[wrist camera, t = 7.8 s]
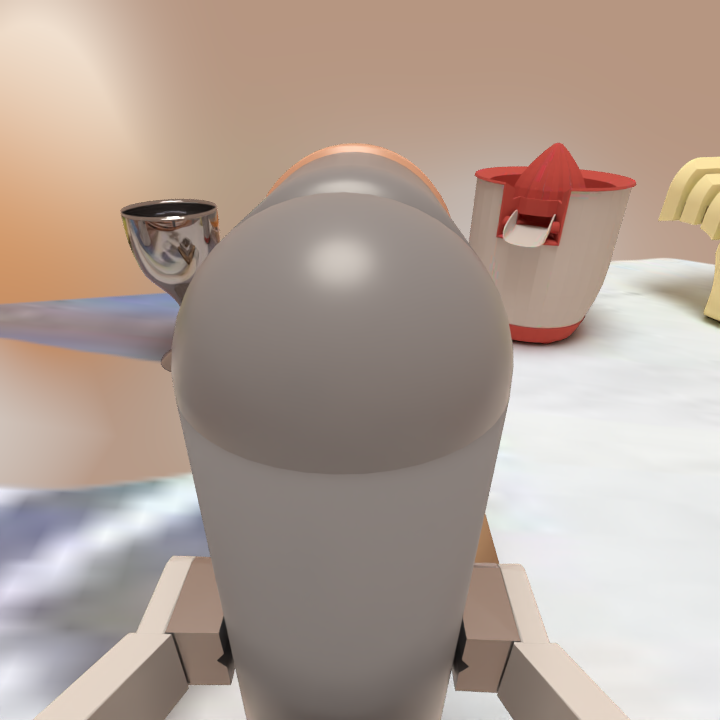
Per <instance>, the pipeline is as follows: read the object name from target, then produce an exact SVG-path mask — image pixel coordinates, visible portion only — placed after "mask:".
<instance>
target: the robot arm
mask: <svg viewBox="0 0 720 720" xmlns="http://www.w3.org/2000/svg"><path fill="white" fill-rule="evenodd" d="M234 670H235V664H234V660H233V655H232V651H231V646H230V642H229V637H228V633H227V628H226V624H225V619H224V615H223V610H222V606H221V601H220V596H219V592H218V587H217V583H216V578H215V574H214V569H213V565H212V560H211V557H197V556H172V557H171V559H170V560H169V561H168V562H167V564H166V566H165V568H164V570H163V573H162V575H161V577H160V580H159V582H158V584H157V586H156V589H155V591H154V593H153V596H152V598H151V600H150V602H149V605H148V607H147V609H146V611H145V614H144V616H143V618H142V621H141V623H140V625H139V627H138V630H137V632H136V633H128V634H127V635H126V636H125V637H124V638H123V639H122V640H120V641H119V642H118V643H117V644H116V645H115V646H114V647H113V648H112V649H110V650H109V651H108V652H107V653H106V654H105V655H104V656H103V657H102V658H100V659H99V660H98V661H97V662H96V663H95V664H94V665H93V666H92V667H90V668H89V669H88V670H87V671H86V672H85V673H84V674H83V675H82V676H80V677H79V678H78V679H77V680H76V681H75V682H74V683H73V684H72V685H71V686H69V687H68V688H67V689H66V690H65V691H64V692H63V693H62V694H61V695H59V696H58V697H57V698H56V699H55V700H54V701H53V702H52V703H51V704H49V705H48V706H47V707H46V708H45V709H44V710H43V711H42V712H41V713H39V714H38V715H37V716H36V717H35V718H34V719H33V720H164V719H165V718H166V717H167V716H168V714H169V713H170V712H171V710H172V709H173V708H174V707H175V705H176V704H177V703H178V702H179V700H180V699H181V698H182V697H183V695H184V694H185V693H186V691H187V690H188V689H189V686H188V685H231V683H232V679H233V674H234ZM452 674H453V680H454V687H455V691H471V692H490V693H498V694H497V696H498V698H499V699H500V701H501V702H502V703H503V705H504V706H505V708H506V709H507V711H508V712H509V714H510V715H511V717H512V718H513V720H630V719H629V718H628V717H627V716H626V715H625V714H624V712H623V711H622V710H621V709H620V708H619V707H618V706H617V705H616V704H615V703H614V702H613V701H612V700H611V699H610V698H609V697H608V696H607V695H606V694H605V693H604V692H603V691H602V690H601V688H600V687H599V686H598V685H597V684H596V683H595V682H594V681H593V680H592V679H591V678H590V677H589V676H588V675H587V674H586V673H585V672H584V671H583V670H582V669H581V668H580V667H579V666H578V664H577V663H576V662H575V661H574V660H573V659H572V658H571V657H570V656H569V655H568V654H567V653H566V652H565V651H564V650H563V649H562V648H561V647H560V646H559V645H558V644H557V643H550V642H549V639H548V636H547V633H546V630H545V627H544V624H543V621H542V618H541V615H540V613H539V610H538V607H537V604H536V601H535V598H534V595H533V592H532V589H531V586H530V583H529V580H528V577H527V574H526V572H525V569H524V568H523V566H522V565H521V564H496V563H474V567H473V571H472V576H471V581H470V585H469V590H468V595H467V599H466V604H465V609H464V613H463V618H462V623H461V627H460V632H459V637H458V642H457V646H456V651H455V656H454V660H453V665H452Z"/></svg>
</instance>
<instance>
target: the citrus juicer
mask: <svg viewBox="0 0 720 720" xmlns="http://www.w3.org/2000/svg"><path fill="white" fill-rule="evenodd" d="M475 176H476V177H477V184H476V192H475V199H474V208H473V215H472V222H471V230H470V238H469V244H470V246H471V247H472V249H473V250H474V251H475V253H476V254H477V256H478V257H479V258H480V260H481V261H482V263H483V264H484V266H485V267H486V268H487V270H488V272H489V274H490V276H491V278H492V280H493V282H494V283H495V285H496V287H497V289H498V291H499V293H500V295H501V298H502V301H503V304H504V307H505V310H506V313H507V316H508V321H509V327H510V332H511V338H512V340H518V341H525V342H539V343H544V344H548V343H551V342H553V341H559V340H562V339H565V338H567V337H568V336H570V335H571V334H572V333H573V332H574V331H575V329H576V328H577V327H578V326H579V324H580V323H581V322H582V321H583V319H584V318H585V315H586V313H587V311H588V310H589V308H590V307H591V305H592V304H593V302H594V301H595V299H596V297H597V295H598V293H599V291H600V289H601V287H602V285H603V282H604V279H605V276H606V274H607V271H608V268H609V265H610V261H611V257H612V255H613V251H614V248H615V244H616V240H617V237H618V234H619V230H620V227H621V224H622V220H623V217H624V213H625V210H626V206H627V203H628V199H629V196H630V193H631V189H632V187H634V186H635V185H636V182H635V180H633V179H631V178H628V177H625V176H620V175H616V174H610V173H605V172H597V171H590V170H589V171H588V170H580V169H579V167H578V166H577V164H576V162H575V160H574V159H573V157H572V156H571V154H570V153H569V151H568V150H567V149H566V148H565V147H564V145H563V144H561V143H556V144H554V145H552V146H551V147H549V148H548V149H547V150H545V151H544V152H543V153H542V154H541V155H540V156H539V157H538V158H536V159H535V160H534V161H533V162H532V163H531V164H530V165H529V166H528V167H495V168H486V169H482V170H478V171H476V173H475Z"/></svg>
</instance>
